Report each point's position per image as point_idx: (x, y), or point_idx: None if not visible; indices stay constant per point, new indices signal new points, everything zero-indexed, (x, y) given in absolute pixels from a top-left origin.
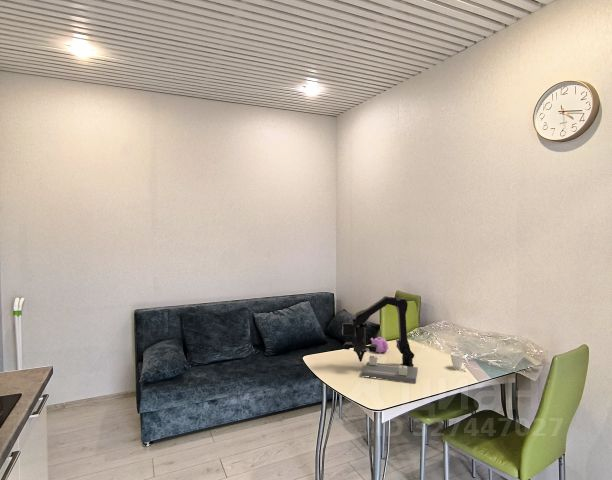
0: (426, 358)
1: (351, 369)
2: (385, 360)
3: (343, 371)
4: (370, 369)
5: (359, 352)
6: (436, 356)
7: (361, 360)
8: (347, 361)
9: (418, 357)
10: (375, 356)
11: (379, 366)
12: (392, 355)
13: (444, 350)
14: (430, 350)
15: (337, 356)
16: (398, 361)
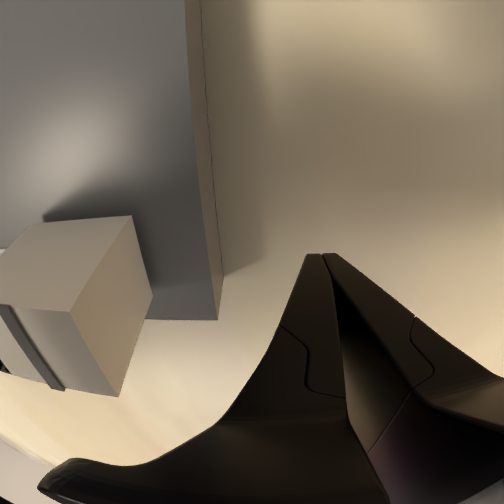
0: (6, 415)
1: (425, 104)
2: (129, 408)
3: (496, 25)
4: (56, 24)
5: (397, 437)
6: (3, 425)
7: (303, 266)
8: (456, 325)
9: (31, 426)
10: (25, 372)
11: (3, 214)
12: (137, 450)
13: (27, 452)
14: (53, 459)
15: (498, 368)
16: (56, 397)
